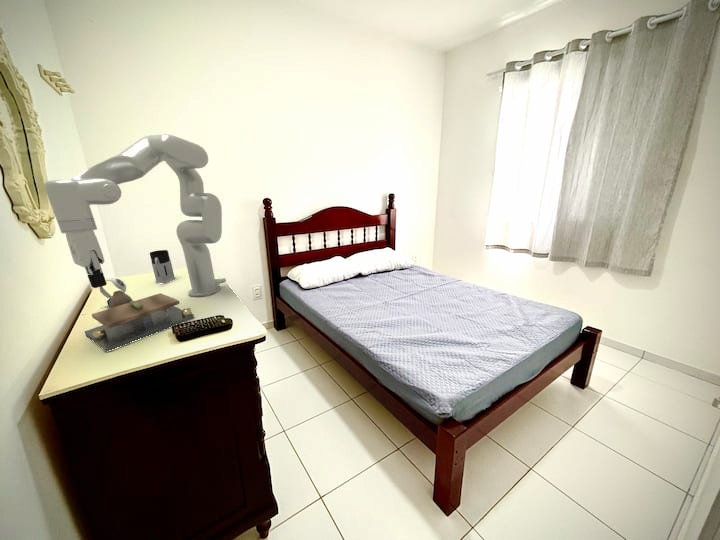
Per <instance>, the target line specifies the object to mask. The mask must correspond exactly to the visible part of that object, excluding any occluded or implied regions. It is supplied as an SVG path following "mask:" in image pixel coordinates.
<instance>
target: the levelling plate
mask: <svg viewBox="0 0 720 540" xmlns="http://www.w3.org/2000/svg"><path fill="white" fill-rule="evenodd" d="M180 304H181V303H180V300H178V299H176V298H173V297H171V296H169V295H166V294H163V293H161V292H160V293H157V294H153V295H150V296H147V297H143V298H141V299H137V300H133V301H131V302H130V303H127V304H123V305H120V306H117V307H114V308H108V309H105V310H101V311H98V312H97V311H96V312H95V313H91V317H92V319H94V320H95V321H97V322H99V324H101V325H104V326H106V327H107V328H112V327H115V326H117V325H120V324H123V323H126V322H129V321H132V320H135V319H138V318H140V317H143V316H146V315H149V314H152V313H155V312H158V311H160V310H163V309H166V308H169V307H172V306H175V307H176V306H177V305H180Z"/></svg>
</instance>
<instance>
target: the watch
mask: <svg viewBox="0 0 720 540" xmlns="http://www.w3.org/2000/svg"><path fill="white" fill-rule="evenodd" d="M105 280H106V282H111V283H112V285H113V286H114V287H116V288H117V289H118V290H121V291H122V292H124V293H125V294H126V292H127V284H125V282H124V281H123V280H122V279H119V278H114V277H111V278H107V279H105ZM99 292H100V293H101V294H102V295H103V297H105V298H106V299H108V300H106V303H107V305H108V309H110V306H109V302H110V299H111V297H112V296H113V295H111V294H110V293H108V291H106V289H105V288H104V286H101V287H99Z"/></svg>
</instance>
